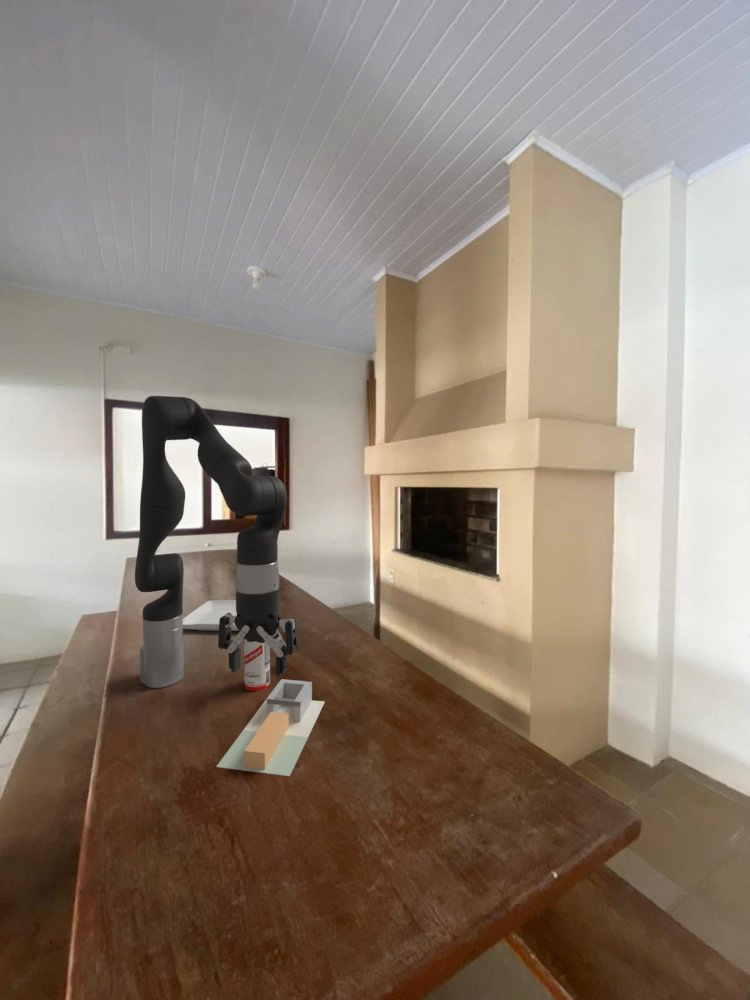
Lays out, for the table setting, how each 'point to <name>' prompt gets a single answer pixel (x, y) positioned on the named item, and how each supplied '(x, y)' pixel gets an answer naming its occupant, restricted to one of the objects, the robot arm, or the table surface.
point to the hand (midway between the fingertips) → (257, 672)
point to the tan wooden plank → (266, 740)
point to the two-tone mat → (302, 718)
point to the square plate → (210, 615)
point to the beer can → (256, 665)
